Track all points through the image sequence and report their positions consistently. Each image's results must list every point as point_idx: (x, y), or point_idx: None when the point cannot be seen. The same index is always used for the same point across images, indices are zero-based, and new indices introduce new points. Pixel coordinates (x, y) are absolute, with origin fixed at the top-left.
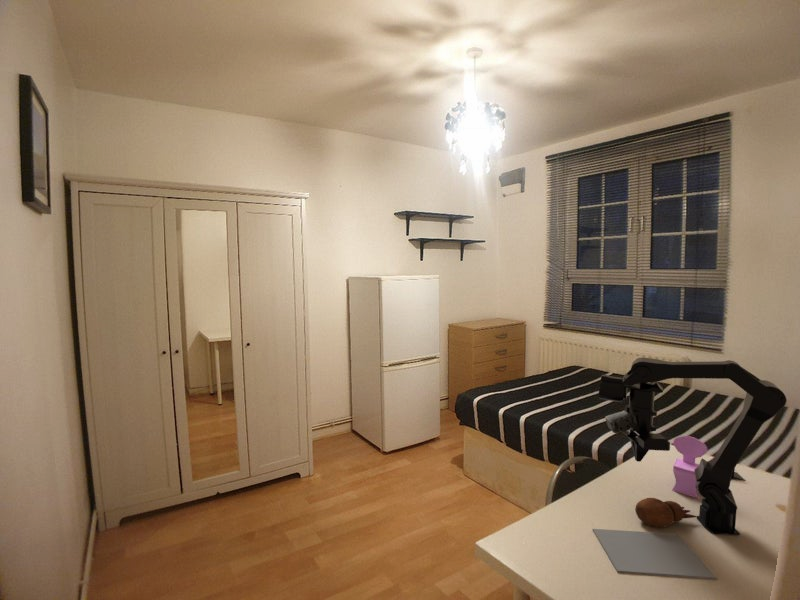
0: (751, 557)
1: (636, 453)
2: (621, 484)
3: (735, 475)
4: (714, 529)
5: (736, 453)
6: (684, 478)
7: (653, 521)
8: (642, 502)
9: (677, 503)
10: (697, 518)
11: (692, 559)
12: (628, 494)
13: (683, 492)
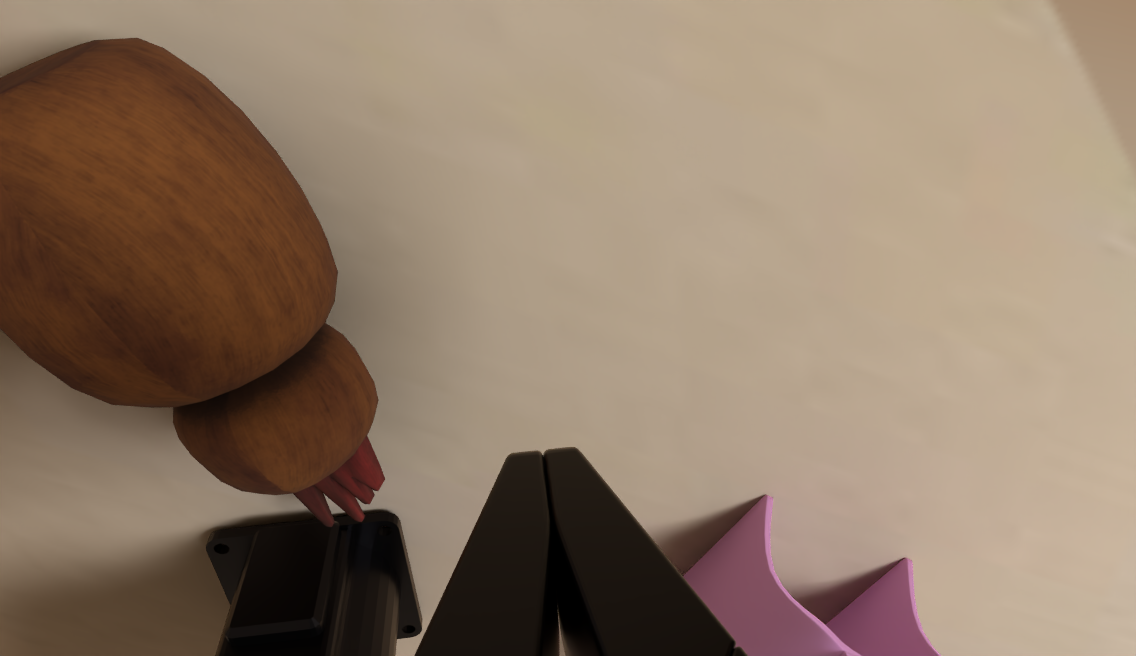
0: (21, 616)
1: (448, 609)
2: (882, 142)
3: None
4: (243, 559)
5: None
6: (750, 647)
7: None
8: (47, 145)
9: (277, 490)
10: (376, 515)
11: None
12: (692, 142)
13: (720, 547)
